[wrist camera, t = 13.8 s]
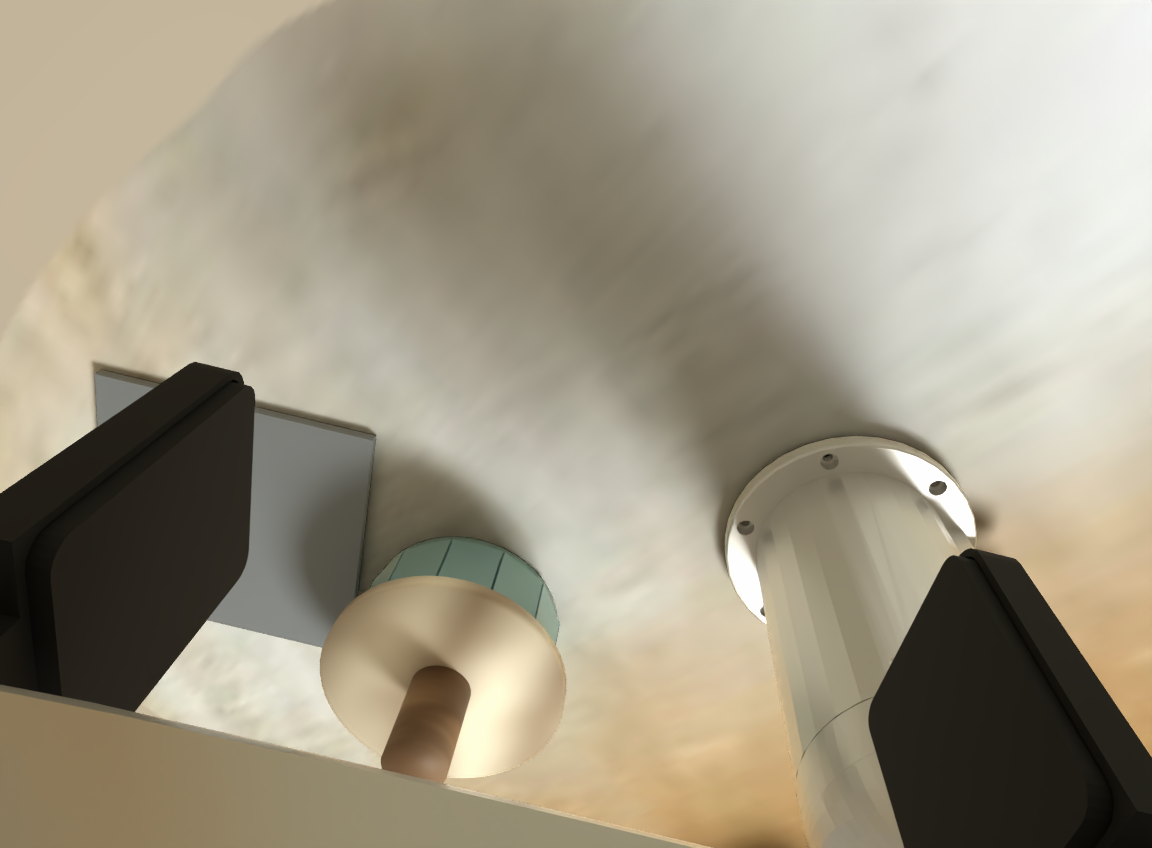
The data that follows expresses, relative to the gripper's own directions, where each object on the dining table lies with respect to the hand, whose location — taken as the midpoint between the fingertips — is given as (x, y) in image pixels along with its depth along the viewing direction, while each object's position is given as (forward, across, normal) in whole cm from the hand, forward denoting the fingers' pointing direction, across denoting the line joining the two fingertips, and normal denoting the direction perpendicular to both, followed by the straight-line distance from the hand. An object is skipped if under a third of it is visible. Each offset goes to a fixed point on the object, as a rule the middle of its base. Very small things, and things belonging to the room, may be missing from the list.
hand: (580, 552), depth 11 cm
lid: (+23, +4, +26) cm, 35 cm away
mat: (+28, +18, +23) cm, 41 cm away
